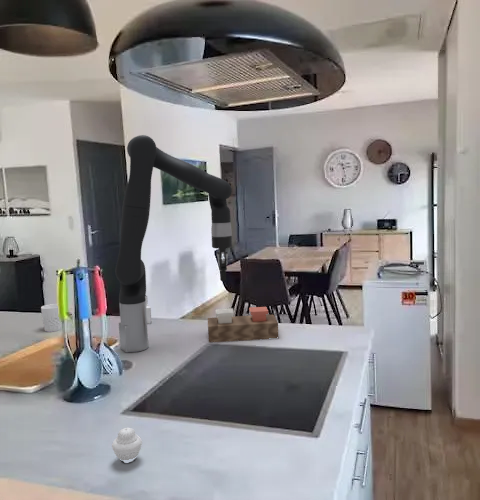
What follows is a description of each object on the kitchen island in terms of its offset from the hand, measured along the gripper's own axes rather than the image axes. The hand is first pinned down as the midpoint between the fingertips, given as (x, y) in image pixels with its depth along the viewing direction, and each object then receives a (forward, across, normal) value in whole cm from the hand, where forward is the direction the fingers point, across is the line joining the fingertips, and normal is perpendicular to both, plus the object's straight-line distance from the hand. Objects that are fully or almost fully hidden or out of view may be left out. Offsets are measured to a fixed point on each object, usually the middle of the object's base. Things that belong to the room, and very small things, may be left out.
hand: (223, 280), depth 179 cm
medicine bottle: (+22, +26, +35) cm, 49 cm away
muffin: (+22, -80, +24) cm, 87 cm away
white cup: (+22, +22, +71) cm, 78 cm away
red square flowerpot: (+18, 0, -13) cm, 22 cm away
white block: (+18, 0, 0) cm, 18 cm away
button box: (+22, 0, -6) cm, 23 cm away
